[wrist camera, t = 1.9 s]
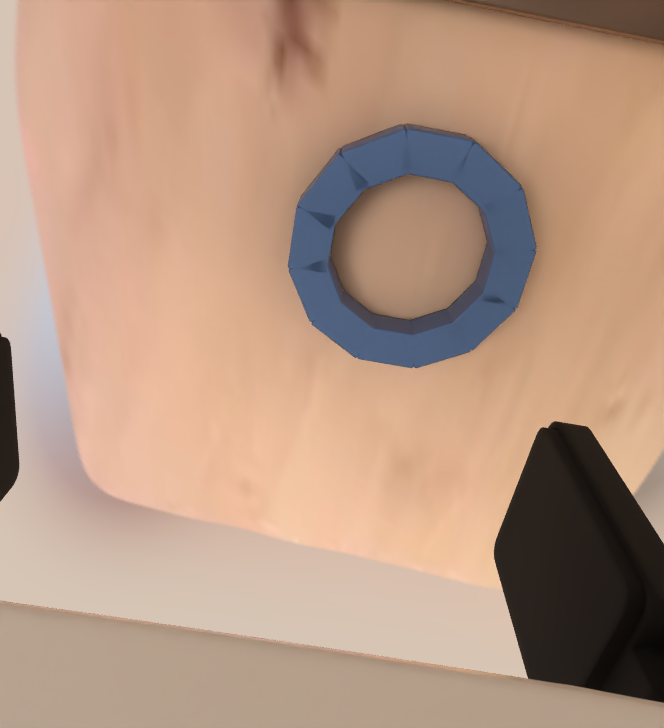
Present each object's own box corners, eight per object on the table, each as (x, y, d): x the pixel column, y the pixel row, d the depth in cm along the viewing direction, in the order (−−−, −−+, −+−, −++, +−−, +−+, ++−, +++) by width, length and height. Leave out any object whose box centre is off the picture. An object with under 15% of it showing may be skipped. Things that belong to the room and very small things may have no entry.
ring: (313, 105, 23) (310, 109, 22) (555, 151, 24) (568, 158, 22) (280, 330, 28) (276, 345, 26) (485, 365, 28) (492, 382, 27)
